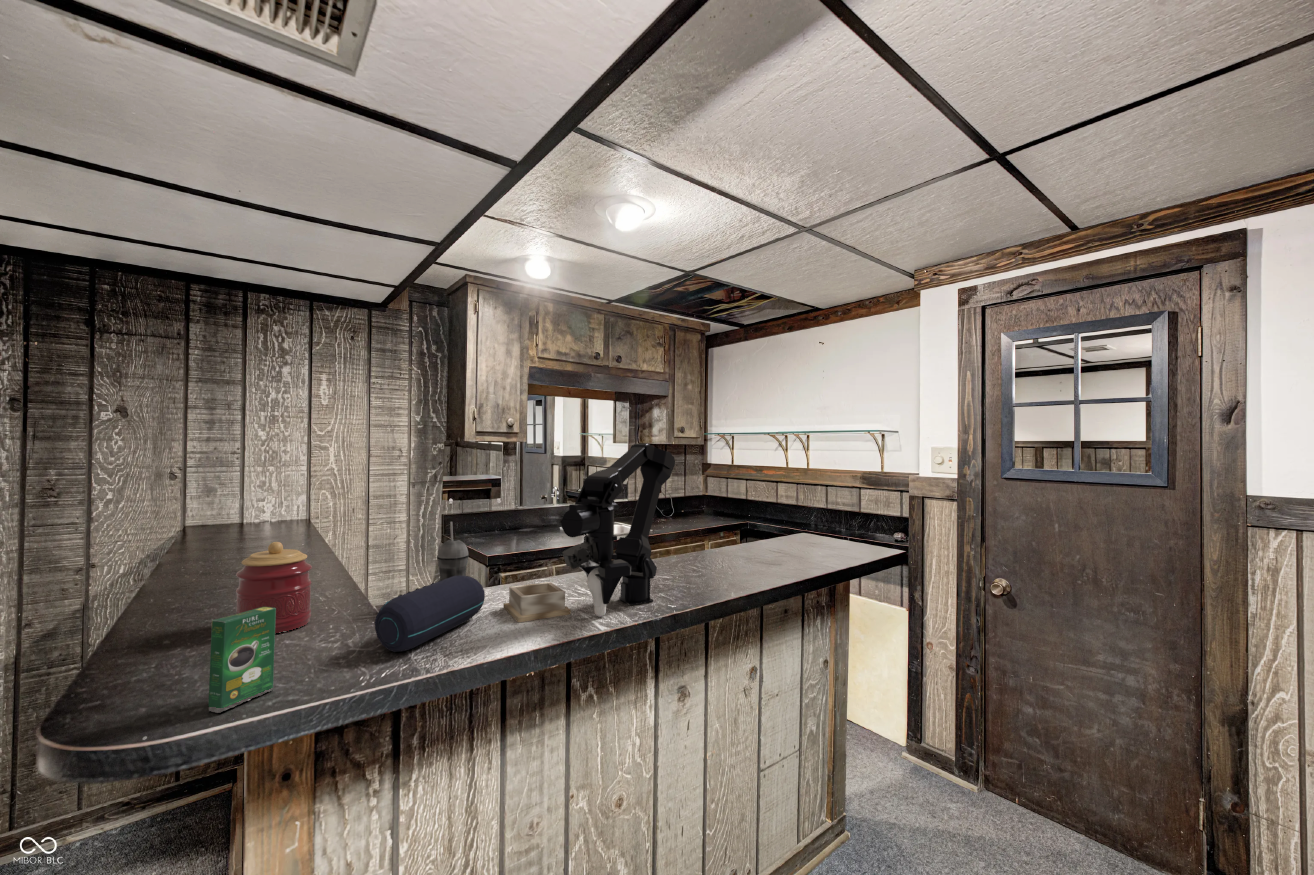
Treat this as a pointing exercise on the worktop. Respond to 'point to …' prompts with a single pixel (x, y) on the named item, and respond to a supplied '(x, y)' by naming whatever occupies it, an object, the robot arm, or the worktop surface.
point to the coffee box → (241, 656)
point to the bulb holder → (536, 602)
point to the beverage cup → (452, 558)
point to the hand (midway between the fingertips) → (600, 600)
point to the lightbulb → (596, 593)
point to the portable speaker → (428, 612)
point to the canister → (276, 585)
